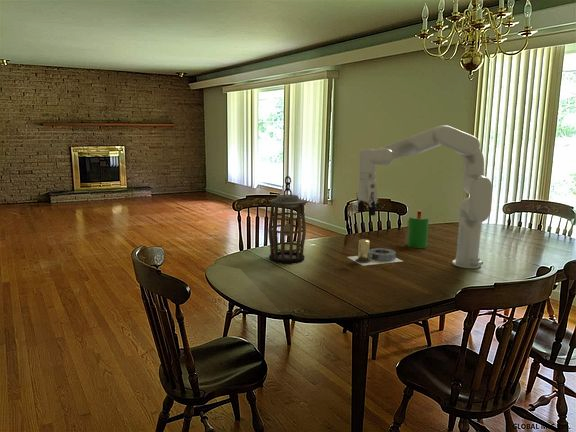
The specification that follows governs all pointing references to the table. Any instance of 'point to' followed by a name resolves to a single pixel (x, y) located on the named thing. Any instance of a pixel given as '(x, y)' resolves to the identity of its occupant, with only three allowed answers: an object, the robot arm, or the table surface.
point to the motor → (418, 231)
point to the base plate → (372, 261)
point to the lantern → (287, 228)
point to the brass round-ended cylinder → (363, 250)
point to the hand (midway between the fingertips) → (366, 213)
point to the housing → (382, 254)
